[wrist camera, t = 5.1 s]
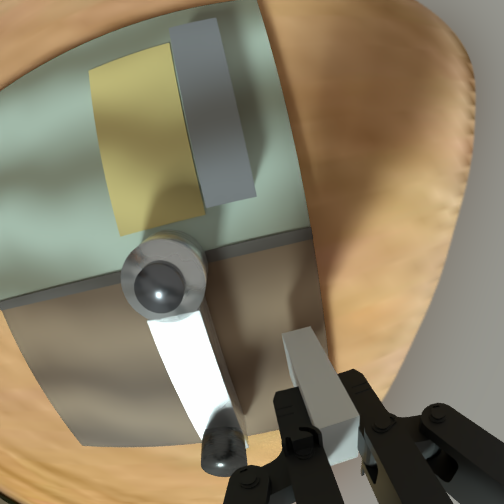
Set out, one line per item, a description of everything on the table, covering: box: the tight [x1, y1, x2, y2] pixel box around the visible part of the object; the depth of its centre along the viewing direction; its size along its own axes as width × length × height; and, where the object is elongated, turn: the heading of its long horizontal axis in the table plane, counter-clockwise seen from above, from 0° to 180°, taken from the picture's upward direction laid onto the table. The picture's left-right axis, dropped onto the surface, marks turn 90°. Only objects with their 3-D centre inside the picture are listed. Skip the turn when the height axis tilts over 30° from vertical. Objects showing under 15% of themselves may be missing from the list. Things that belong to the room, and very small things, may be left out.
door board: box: [0, 0, 329, 447], centre depth 14 cm, size 26×20×4 cm
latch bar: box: [121, 229, 249, 477], centre depth 13 cm, size 13×4×4 cm, turn 12°
